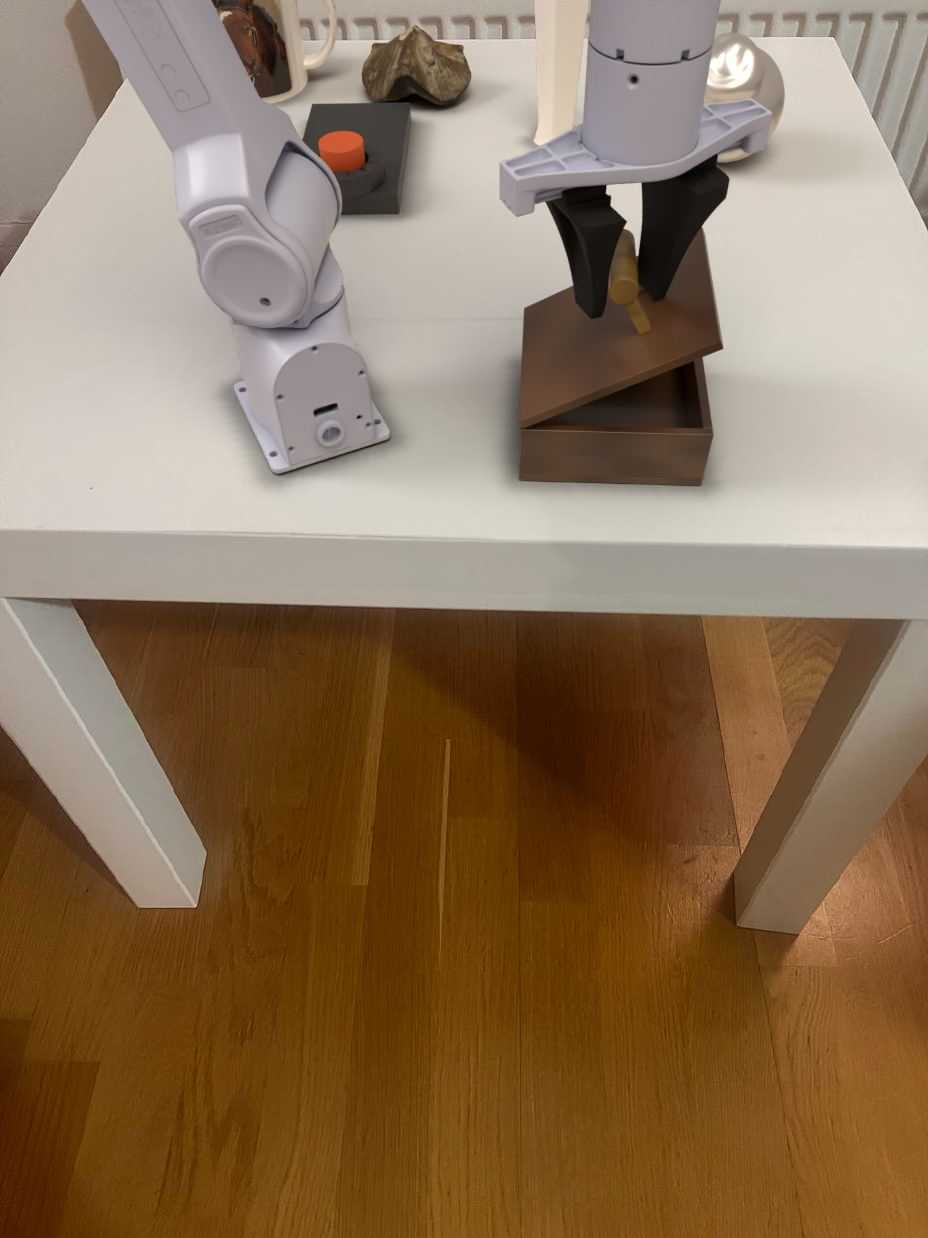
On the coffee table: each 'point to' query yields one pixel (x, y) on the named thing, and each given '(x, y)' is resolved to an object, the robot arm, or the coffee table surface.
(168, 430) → the coffee table surface
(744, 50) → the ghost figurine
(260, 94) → the mug
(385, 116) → the control box
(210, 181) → the robot arm
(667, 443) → the wooden case
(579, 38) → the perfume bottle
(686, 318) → the case lid
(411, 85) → the fossilized seashell
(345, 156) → the button
